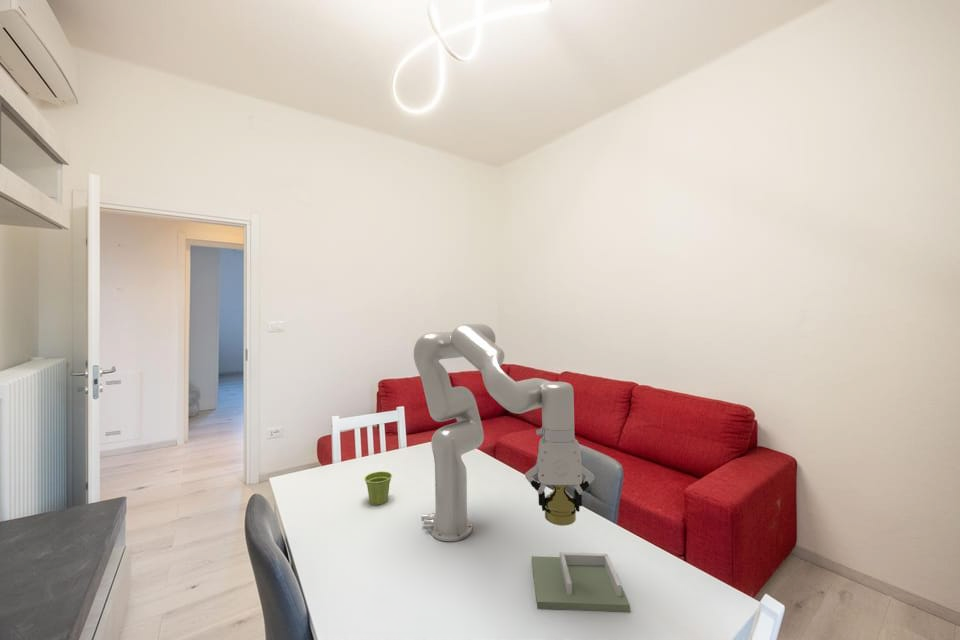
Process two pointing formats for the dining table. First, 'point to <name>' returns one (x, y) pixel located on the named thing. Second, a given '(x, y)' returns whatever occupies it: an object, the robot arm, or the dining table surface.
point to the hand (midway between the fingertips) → (560, 508)
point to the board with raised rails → (578, 583)
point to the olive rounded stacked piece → (560, 507)
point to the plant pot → (378, 487)
